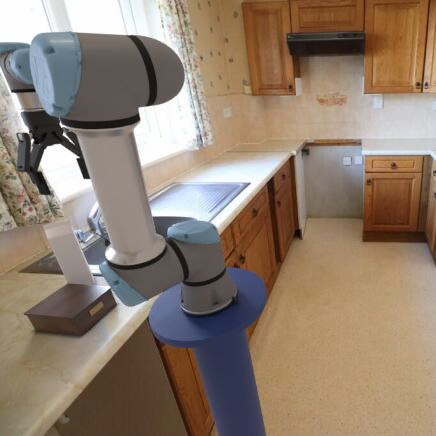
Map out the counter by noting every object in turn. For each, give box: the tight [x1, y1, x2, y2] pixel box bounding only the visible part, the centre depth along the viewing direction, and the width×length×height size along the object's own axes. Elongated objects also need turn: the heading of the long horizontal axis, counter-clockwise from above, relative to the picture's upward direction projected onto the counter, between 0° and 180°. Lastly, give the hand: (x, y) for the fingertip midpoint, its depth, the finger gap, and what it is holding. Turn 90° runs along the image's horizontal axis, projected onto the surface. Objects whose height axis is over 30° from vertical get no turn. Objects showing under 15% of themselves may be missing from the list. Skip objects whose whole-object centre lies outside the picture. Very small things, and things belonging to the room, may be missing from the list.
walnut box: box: [23, 283, 118, 337], centre depth 87 cm, size 15×13×6 cm
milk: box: [42, 219, 96, 286], centre depth 97 cm, size 6×6×22 cm
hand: (68, 186), depth 93 cm, fingers open, 13 cm apart
